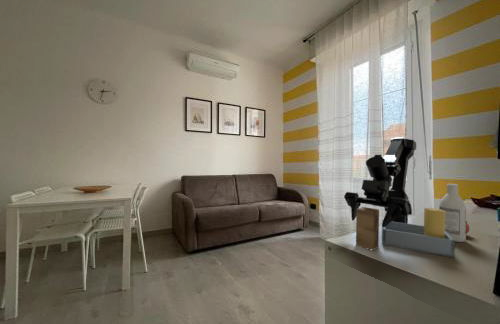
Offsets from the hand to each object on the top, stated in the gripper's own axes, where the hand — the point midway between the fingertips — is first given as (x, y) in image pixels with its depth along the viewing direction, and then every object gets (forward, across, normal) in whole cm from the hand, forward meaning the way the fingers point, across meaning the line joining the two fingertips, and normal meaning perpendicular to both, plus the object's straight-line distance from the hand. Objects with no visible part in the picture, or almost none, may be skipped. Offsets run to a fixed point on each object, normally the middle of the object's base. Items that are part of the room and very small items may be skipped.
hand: (366, 223), depth 67 cm
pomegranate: (-24, +17, +35) cm, 46 cm away
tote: (-6, +9, +16) cm, 19 cm away
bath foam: (-18, +17, +28) cm, 37 cm away
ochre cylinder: (-5, +14, +15) cm, 22 cm away
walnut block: (+5, 0, +6) cm, 8 cm away
